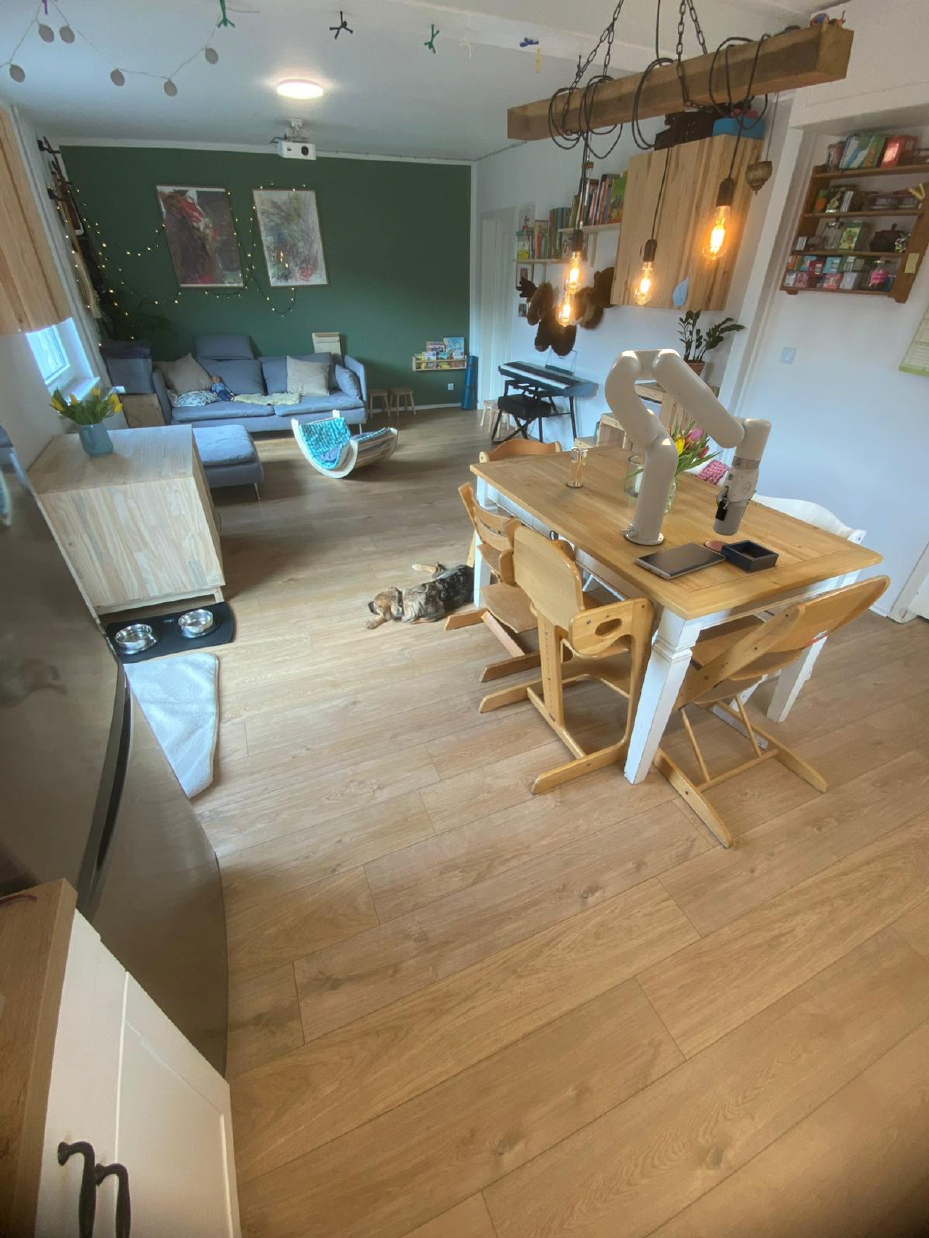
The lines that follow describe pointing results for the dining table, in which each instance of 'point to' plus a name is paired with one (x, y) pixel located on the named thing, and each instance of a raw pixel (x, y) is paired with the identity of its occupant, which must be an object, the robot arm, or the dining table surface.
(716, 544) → the coaster
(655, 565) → the smartphone
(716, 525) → the can
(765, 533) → the dining table surface
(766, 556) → the dark square tray
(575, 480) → the beer glass
